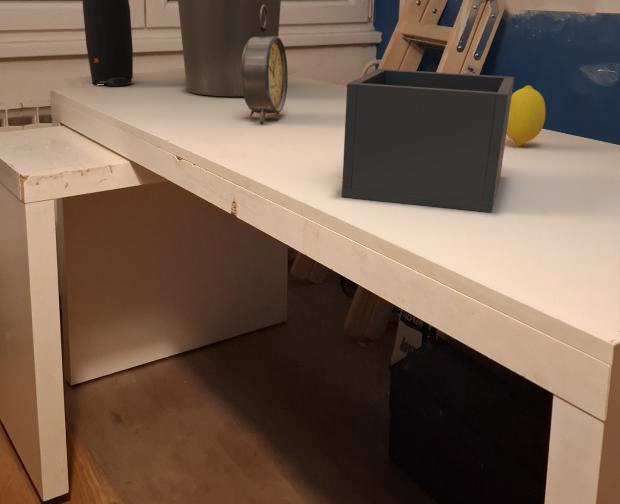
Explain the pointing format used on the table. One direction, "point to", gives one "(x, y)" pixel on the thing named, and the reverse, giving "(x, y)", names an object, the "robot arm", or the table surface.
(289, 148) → the table surface
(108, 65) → the portable speaker
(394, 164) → the bin
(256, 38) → the alarm clock
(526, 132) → the lemon
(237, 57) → the waste basket
